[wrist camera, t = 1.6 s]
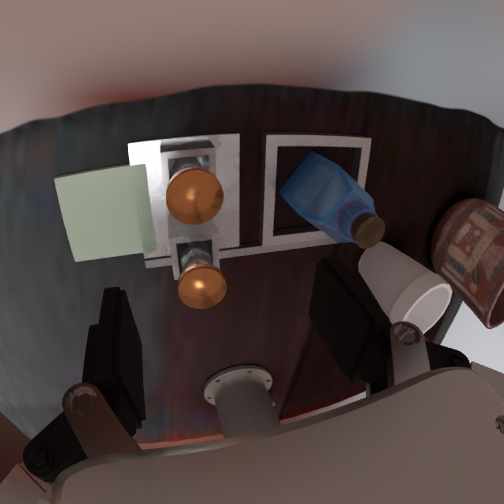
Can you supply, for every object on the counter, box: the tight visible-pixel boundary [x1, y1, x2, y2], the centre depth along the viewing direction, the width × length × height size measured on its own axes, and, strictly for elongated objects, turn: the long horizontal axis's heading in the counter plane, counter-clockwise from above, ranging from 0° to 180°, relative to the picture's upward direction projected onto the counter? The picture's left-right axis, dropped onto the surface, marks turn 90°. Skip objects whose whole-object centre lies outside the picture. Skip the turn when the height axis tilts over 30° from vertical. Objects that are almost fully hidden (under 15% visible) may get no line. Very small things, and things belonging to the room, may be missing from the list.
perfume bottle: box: [278, 151, 385, 249], centre depth 30 cm, size 6×6×12 cm
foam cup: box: [358, 242, 452, 334], centre depth 39 cm, size 10×9×13 cm
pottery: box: [431, 198, 504, 329], centre depth 40 cm, size 18×18×18 cm
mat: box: [54, 163, 157, 262], centre depth 29 cm, size 10×10×1 cm
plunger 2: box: [177, 240, 227, 309], centre depth 27 cm, size 4×4×7 cm
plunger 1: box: [166, 157, 224, 225], centre depth 23 cm, size 4×4×7 cm
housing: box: [128, 132, 371, 280], centre depth 31 cm, size 26×14×6 cm, turn 89°
